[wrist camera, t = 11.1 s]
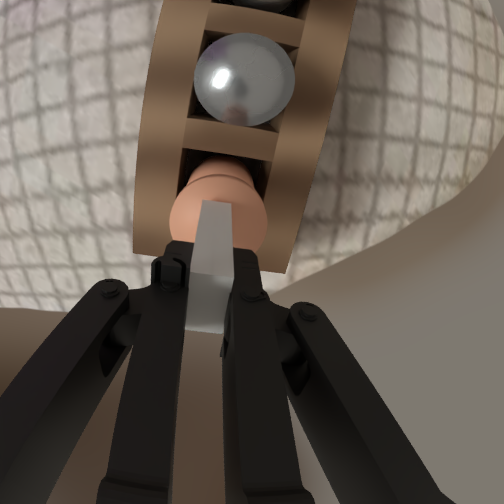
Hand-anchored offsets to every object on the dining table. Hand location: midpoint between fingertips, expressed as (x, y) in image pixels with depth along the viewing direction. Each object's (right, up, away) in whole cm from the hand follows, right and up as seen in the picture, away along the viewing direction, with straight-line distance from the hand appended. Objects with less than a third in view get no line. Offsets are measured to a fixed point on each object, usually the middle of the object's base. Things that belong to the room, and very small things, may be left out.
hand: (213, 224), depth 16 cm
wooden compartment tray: (+1, +12, +5) cm, 13 cm away
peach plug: (0, +3, +6) cm, 7 cm away
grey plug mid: (+1, +11, +4) cm, 12 cm away
